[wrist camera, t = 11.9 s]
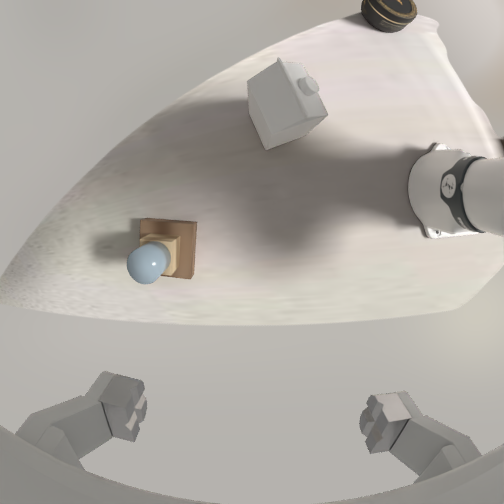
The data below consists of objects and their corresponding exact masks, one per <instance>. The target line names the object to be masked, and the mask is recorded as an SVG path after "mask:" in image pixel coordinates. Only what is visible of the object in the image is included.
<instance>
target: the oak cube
mask: <svg viewBox="0 0 504 504" xmlns="http://www.w3.org/2000/svg"><path fill="white" fill-rule="evenodd" d="M150 241H158V242H161V243H163V244H164V245H165V246H166V247H167V248H168V250H169V252H170V255H171V262H170V265H169V267H168V268H167V269H166V270H165V271H164V272H163V273H162V274H161V275H169V276H171V275H172V274H173V273H174V272H175V270H176V269H177V268H178V267H179V255H180V236H176V235H165V234H154V233H151V234H149V235H147V236H145V237H143V238H141V239H140V247H141V246H143V245H144V244H146V243H148V242H150Z"/></svg>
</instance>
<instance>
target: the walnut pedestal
mask: <svg viewBox="0 0 504 504" xmlns="http://www.w3.org/2000/svg"><path fill="white" fill-rule="evenodd" d="M196 229H197V222H191V221H179V220H166V219H153V218H145V219H142V220H140V239H141V238H143V237H145V236H147V235H149V234H151V233H154V234H165V235H176V236H180V255H179V267H178V268H177V269H176V270H175V272H174V273H173V274H172V275H171V276H169V275H160V276H167V277H175V278H184V279H191V278H192V276H193V275H194V264H195V245H196Z"/></svg>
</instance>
